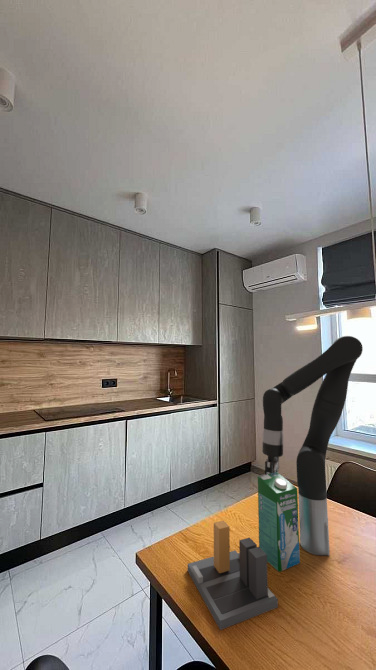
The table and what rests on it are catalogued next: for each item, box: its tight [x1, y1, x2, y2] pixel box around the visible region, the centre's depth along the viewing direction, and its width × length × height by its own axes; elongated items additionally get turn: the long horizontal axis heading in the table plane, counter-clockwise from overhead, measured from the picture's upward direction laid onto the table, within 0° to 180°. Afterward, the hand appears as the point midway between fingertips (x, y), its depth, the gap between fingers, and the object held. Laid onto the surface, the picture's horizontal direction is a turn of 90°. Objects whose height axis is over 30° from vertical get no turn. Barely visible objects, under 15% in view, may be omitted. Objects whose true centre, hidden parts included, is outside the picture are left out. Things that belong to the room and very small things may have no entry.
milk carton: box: [257, 471, 301, 573], centre depth 91 cm, size 9×9×25 cm
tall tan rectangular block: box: [213, 520, 231, 573], centre depth 83 cm, size 4×4×12 cm
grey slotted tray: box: [187, 537, 279, 631], centre depth 79 cm, size 17×20×12 cm
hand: (271, 486), depth 103 cm, fingers open, 8 cm apart
